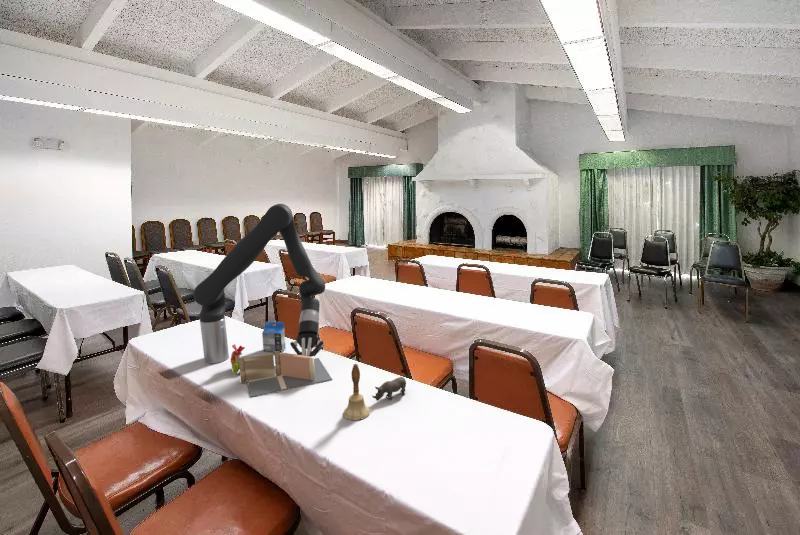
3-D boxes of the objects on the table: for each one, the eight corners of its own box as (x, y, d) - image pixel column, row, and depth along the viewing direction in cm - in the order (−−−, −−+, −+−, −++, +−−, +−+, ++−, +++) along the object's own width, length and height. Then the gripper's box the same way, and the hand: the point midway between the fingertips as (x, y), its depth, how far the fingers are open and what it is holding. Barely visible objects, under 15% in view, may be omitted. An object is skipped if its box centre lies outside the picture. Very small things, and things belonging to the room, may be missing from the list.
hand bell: (355, 403, 130) (353, 357, 127) (375, 410, 125) (374, 363, 122) (337, 415, 123) (335, 366, 120) (358, 423, 119) (356, 373, 116)
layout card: (246, 372, 154) (245, 371, 153) (318, 358, 165) (318, 357, 165) (250, 397, 135) (250, 396, 135) (332, 380, 146) (332, 378, 146)
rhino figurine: (368, 401, 131) (368, 384, 130) (402, 389, 139) (402, 372, 138) (375, 407, 128) (374, 389, 127) (409, 393, 136) (409, 377, 134)
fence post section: (240, 381, 145) (238, 357, 144) (281, 373, 151) (279, 350, 149) (241, 383, 144) (238, 359, 142) (282, 375, 149) (280, 352, 148)
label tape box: (263, 351, 174) (260, 324, 171) (267, 347, 178) (265, 321, 175) (282, 352, 172) (280, 325, 170) (286, 348, 176) (284, 321, 174)
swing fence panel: (283, 373, 150) (282, 352, 149) (316, 378, 146) (314, 356, 144) (280, 375, 149) (279, 354, 147) (313, 380, 144) (312, 358, 143)
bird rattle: (226, 377, 155) (235, 374, 148) (219, 349, 156) (227, 345, 150) (242, 371, 159) (251, 369, 153) (235, 344, 160) (244, 341, 154)
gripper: (289, 320, 153) (284, 364, 144) (324, 318, 154) (322, 362, 144) (293, 328, 159) (289, 371, 150) (327, 327, 160) (325, 369, 150)
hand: (305, 366), depth 147 cm, fingers closed
